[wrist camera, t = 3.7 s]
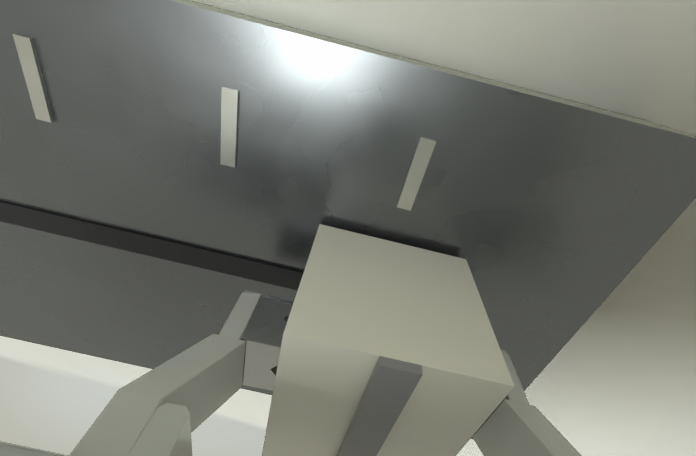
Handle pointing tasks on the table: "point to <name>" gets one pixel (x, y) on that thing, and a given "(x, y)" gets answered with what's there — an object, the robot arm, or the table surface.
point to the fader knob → (383, 354)
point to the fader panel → (294, 177)
